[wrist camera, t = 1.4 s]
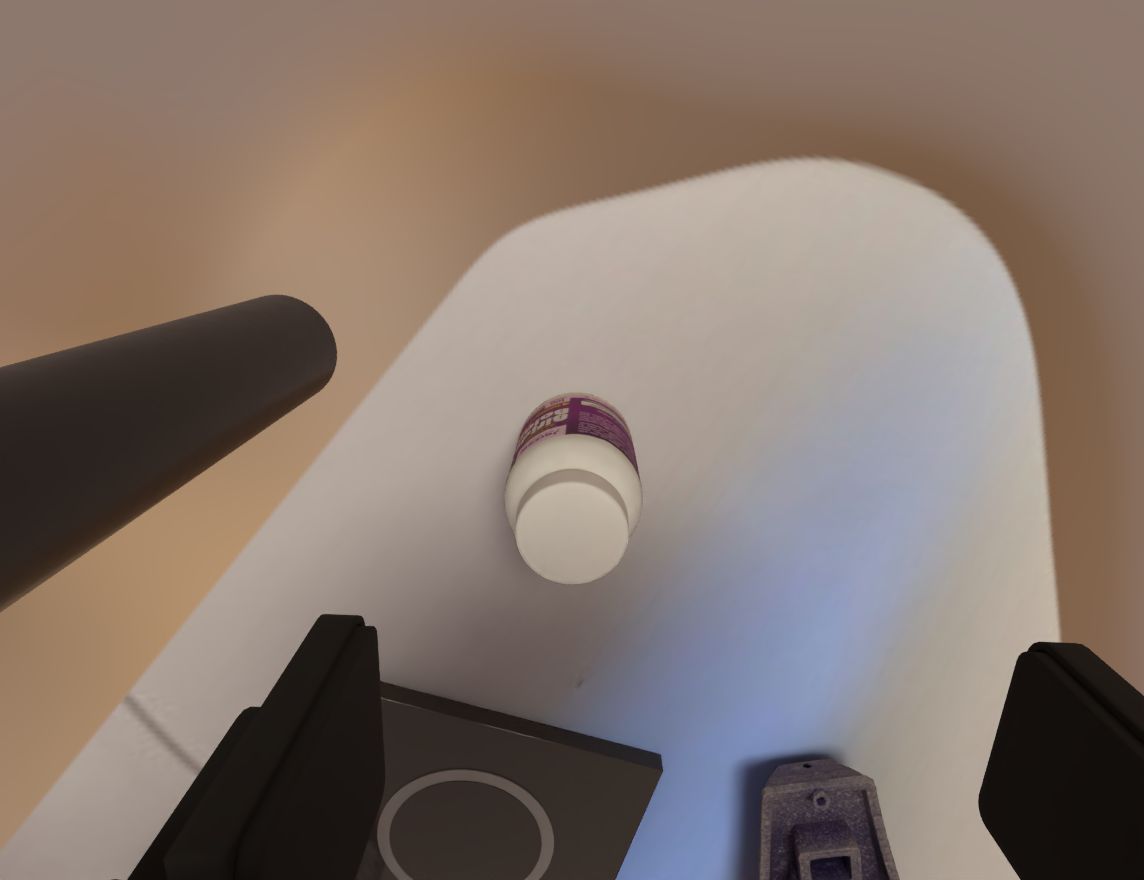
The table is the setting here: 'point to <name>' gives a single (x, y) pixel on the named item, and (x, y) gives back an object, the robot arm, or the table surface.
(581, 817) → the hob
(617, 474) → the pill bottle
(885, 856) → the toy boat
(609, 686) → the table surface
